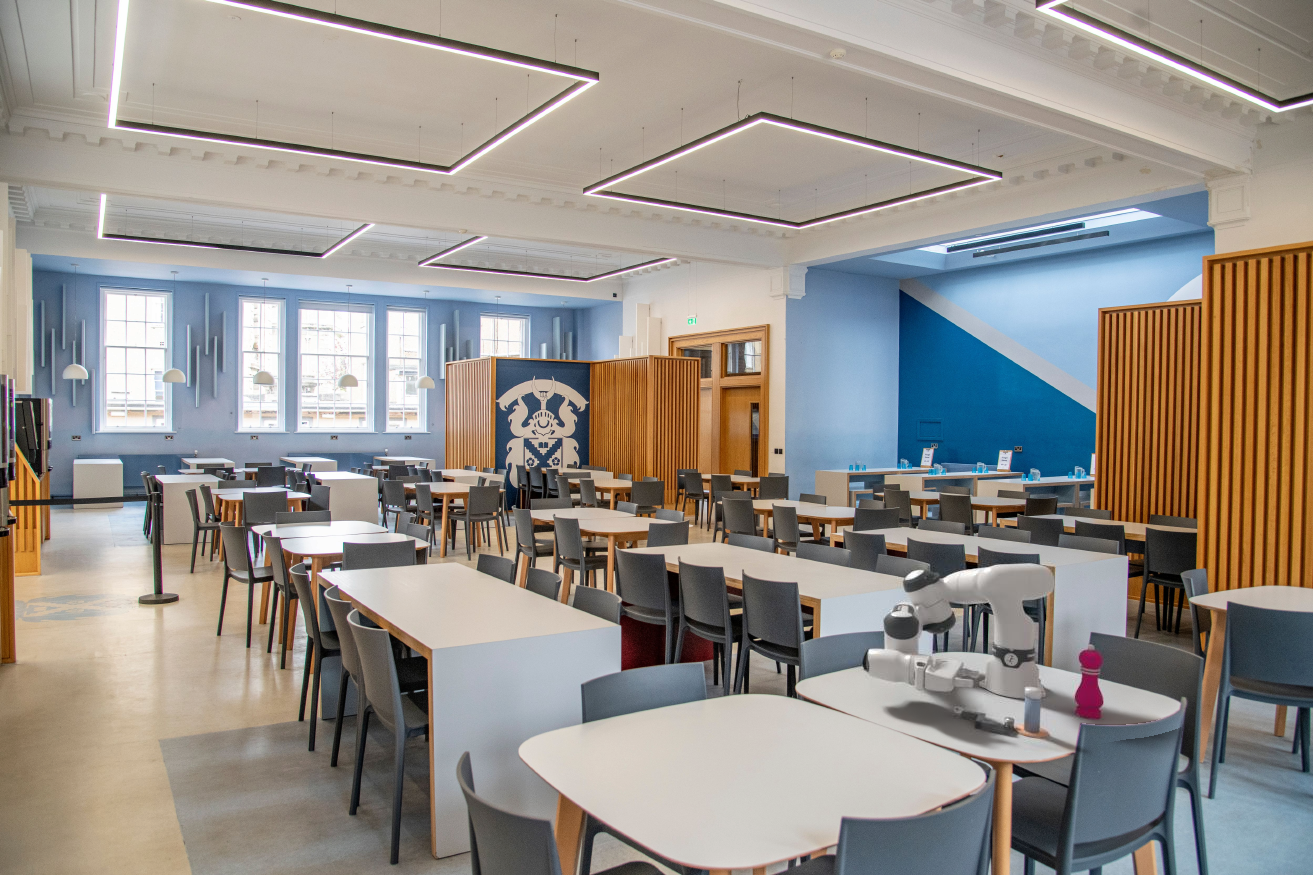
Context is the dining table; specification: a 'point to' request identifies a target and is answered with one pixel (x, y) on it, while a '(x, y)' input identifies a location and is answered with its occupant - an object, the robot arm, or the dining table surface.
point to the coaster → (1041, 734)
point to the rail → (983, 724)
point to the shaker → (1032, 709)
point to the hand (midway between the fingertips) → (975, 678)
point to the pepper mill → (1089, 685)
